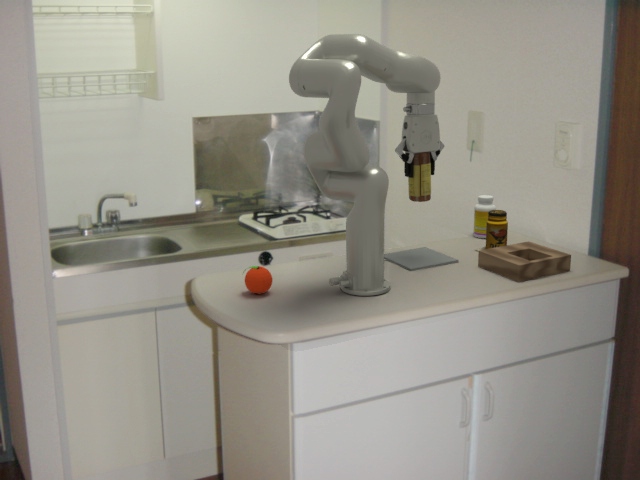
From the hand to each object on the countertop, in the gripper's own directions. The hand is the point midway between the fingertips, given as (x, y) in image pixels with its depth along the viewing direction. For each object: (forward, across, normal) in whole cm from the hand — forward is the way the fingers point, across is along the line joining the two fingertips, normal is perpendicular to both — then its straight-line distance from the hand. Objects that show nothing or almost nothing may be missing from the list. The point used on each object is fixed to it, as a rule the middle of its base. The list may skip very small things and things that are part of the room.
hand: (419, 175), depth 207 cm
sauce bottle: (+7, 0, 0) cm, 7 cm away
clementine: (+25, -51, -3) cm, 57 cm away
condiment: (+25, +24, -4) cm, 35 cm away
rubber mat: (+24, 0, 0) cm, 24 cm away
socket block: (+24, +19, -22) cm, 38 cm away
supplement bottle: (+25, +32, +10) cm, 42 cm away
